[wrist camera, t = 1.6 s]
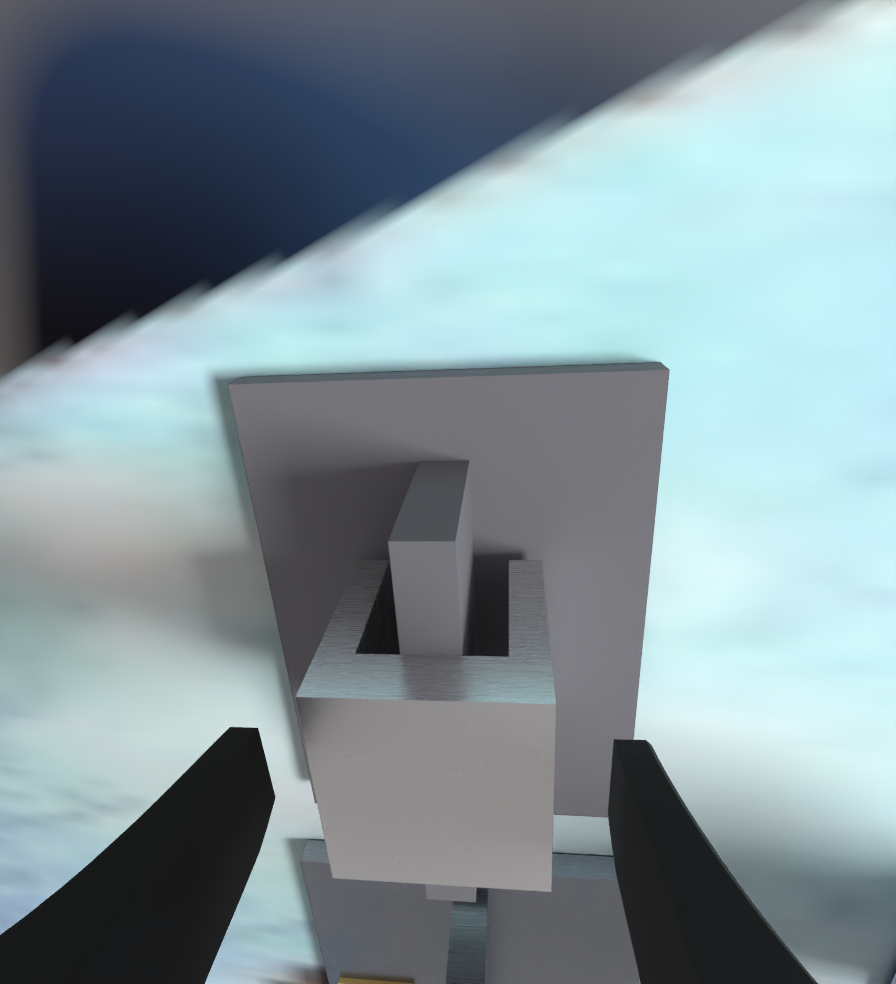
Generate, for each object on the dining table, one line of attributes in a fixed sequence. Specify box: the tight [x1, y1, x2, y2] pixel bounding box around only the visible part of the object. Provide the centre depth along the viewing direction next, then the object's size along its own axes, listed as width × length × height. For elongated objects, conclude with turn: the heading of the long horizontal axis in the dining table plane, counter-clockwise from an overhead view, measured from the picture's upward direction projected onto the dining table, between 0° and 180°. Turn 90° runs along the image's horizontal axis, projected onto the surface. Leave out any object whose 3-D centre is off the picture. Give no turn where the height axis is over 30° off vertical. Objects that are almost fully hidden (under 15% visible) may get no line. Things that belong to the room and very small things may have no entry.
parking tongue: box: [228, 362, 669, 902], centre depth 14 cm, size 10×14×5 cm
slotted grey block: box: [295, 560, 556, 892], centre depth 13 cm, size 5×5×5 cm
